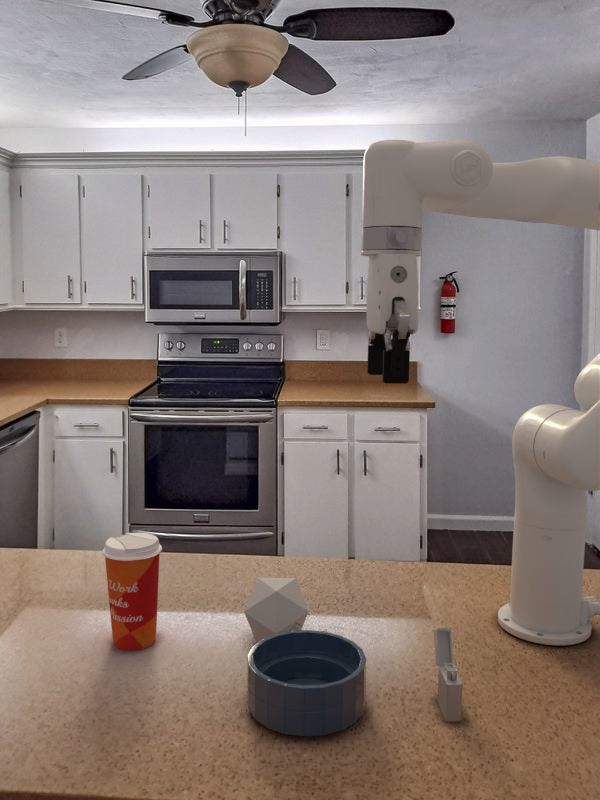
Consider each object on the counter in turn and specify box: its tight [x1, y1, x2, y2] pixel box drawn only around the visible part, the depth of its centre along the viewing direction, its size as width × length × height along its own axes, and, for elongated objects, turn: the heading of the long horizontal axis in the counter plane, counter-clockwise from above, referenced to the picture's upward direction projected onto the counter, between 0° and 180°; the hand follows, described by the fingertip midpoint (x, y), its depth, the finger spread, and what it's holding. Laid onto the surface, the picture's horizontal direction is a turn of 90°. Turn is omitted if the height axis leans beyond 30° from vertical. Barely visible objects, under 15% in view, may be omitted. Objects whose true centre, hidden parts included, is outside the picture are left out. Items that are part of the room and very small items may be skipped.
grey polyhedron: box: [243, 577, 310, 644], centre depth 99 cm, size 8×9×10 cm
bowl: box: [247, 629, 367, 737], centre depth 83 cm, size 13×13×6 cm
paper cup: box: [101, 532, 163, 651], centre depth 97 cm, size 8×8×14 cm
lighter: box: [433, 627, 463, 722], centre depth 83 cm, size 7×2×8 cm, turn 2°
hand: (386, 378), depth 95 cm, fingers open, 9 cm apart
